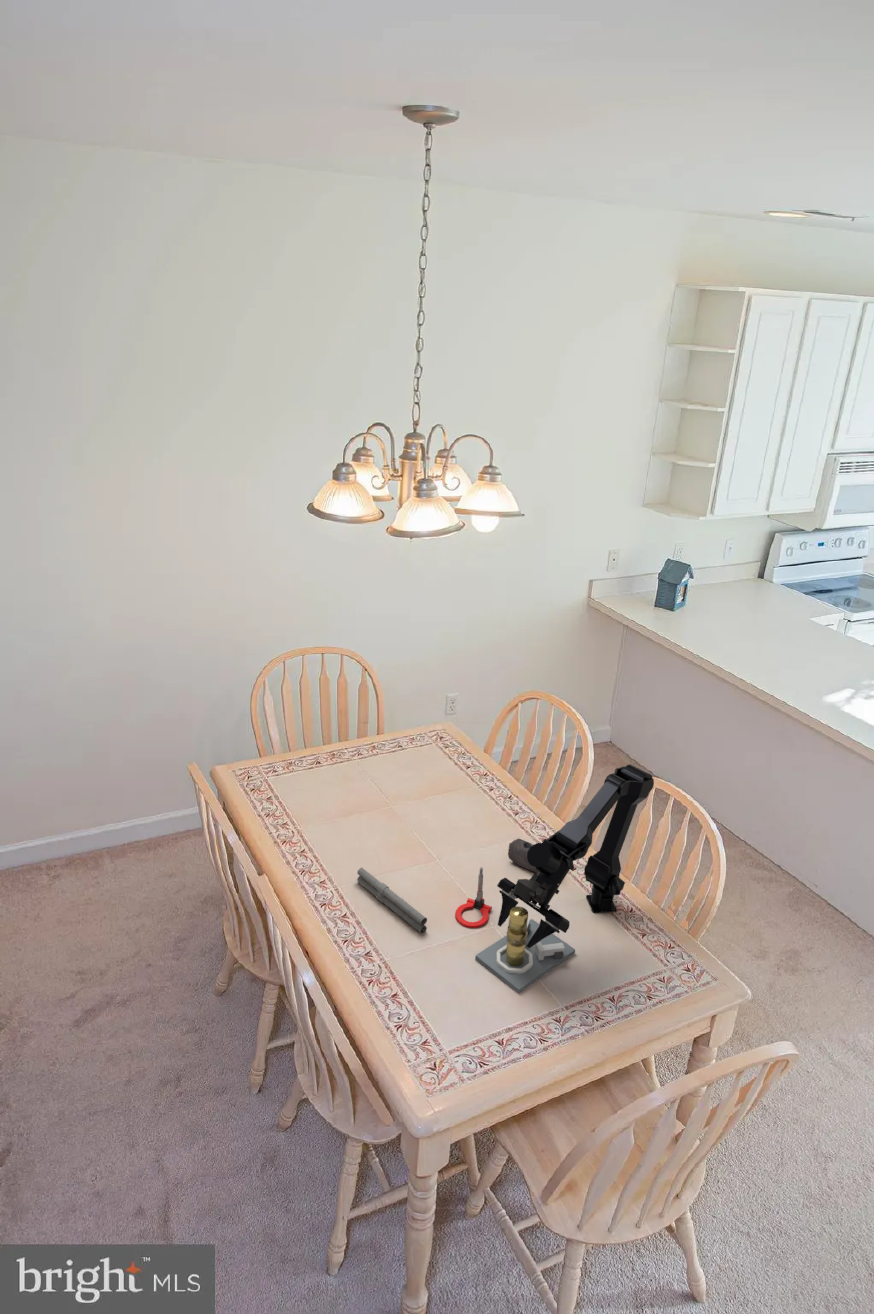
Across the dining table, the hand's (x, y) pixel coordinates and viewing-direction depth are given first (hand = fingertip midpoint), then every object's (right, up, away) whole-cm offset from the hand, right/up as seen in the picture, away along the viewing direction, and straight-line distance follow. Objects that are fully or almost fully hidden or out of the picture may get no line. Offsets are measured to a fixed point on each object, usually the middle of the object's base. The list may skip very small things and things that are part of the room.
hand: (513, 936), depth 202 cm
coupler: (+1, -7, +4) cm, 8 cm away
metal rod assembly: (-30, +1, +22) cm, 37 cm away
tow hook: (-9, -1, +20) cm, 21 cm away
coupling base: (+4, -7, +7) cm, 11 cm away
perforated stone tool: (+9, +6, +38) cm, 40 cm away
